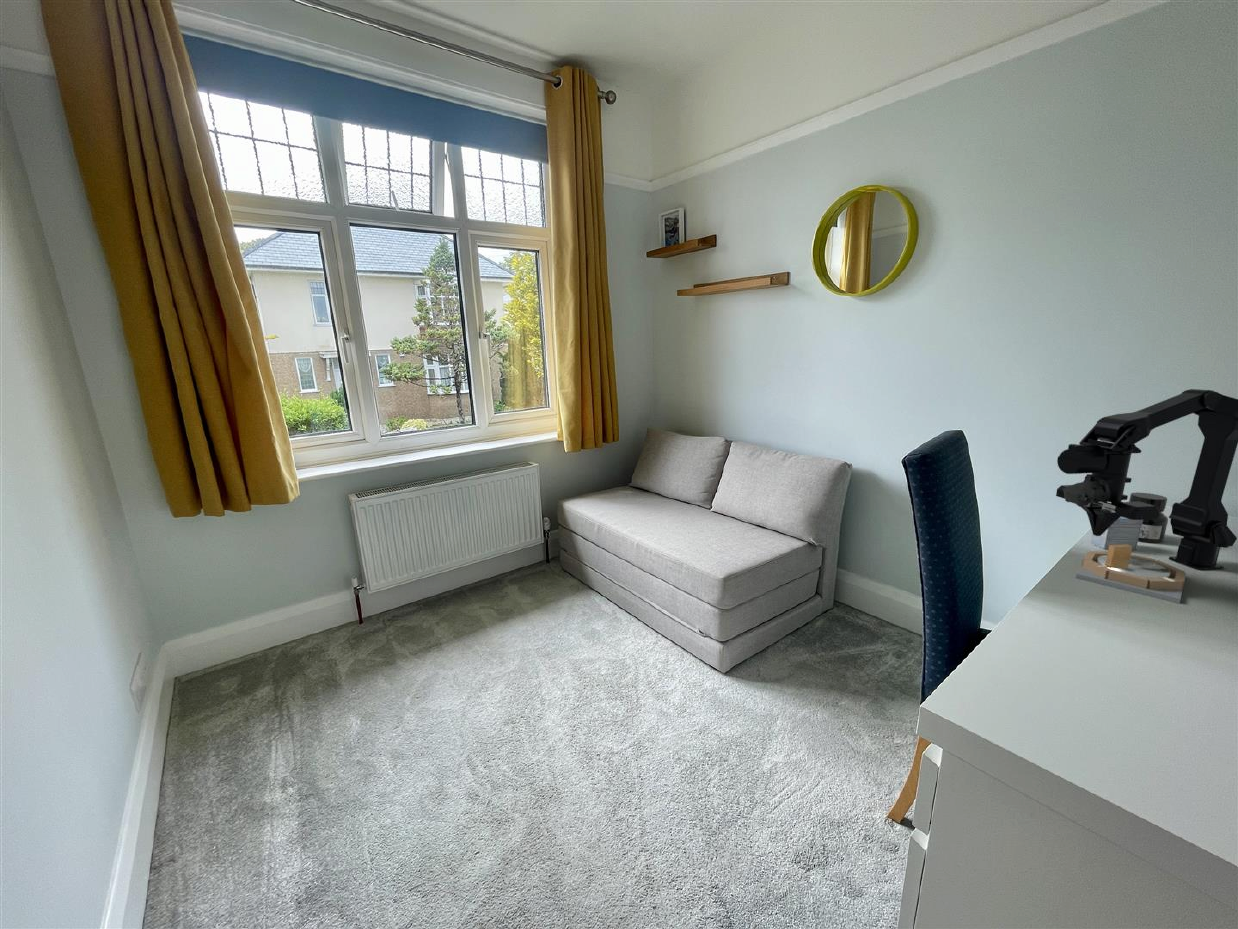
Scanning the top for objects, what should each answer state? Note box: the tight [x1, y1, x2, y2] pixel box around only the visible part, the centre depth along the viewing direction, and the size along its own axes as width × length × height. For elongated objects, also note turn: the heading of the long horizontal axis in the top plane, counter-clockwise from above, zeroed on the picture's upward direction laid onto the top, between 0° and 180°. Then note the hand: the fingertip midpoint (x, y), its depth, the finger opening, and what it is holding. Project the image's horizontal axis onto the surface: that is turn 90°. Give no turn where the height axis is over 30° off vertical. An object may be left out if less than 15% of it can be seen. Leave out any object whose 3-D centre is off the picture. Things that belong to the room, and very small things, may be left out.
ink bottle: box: [1128, 492, 1169, 543], centre depth 134 cm, size 10×9×12 cm
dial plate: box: [1075, 550, 1187, 604], centre depth 112 cm, size 18×16×3 cm
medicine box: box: [1090, 517, 1143, 550], centre depth 129 cm, size 8×4×9 cm, turn 84°
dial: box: [1097, 544, 1170, 578], centre depth 112 cm, size 12×12×7 cm
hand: (1096, 535), depth 116 cm, fingers closed
